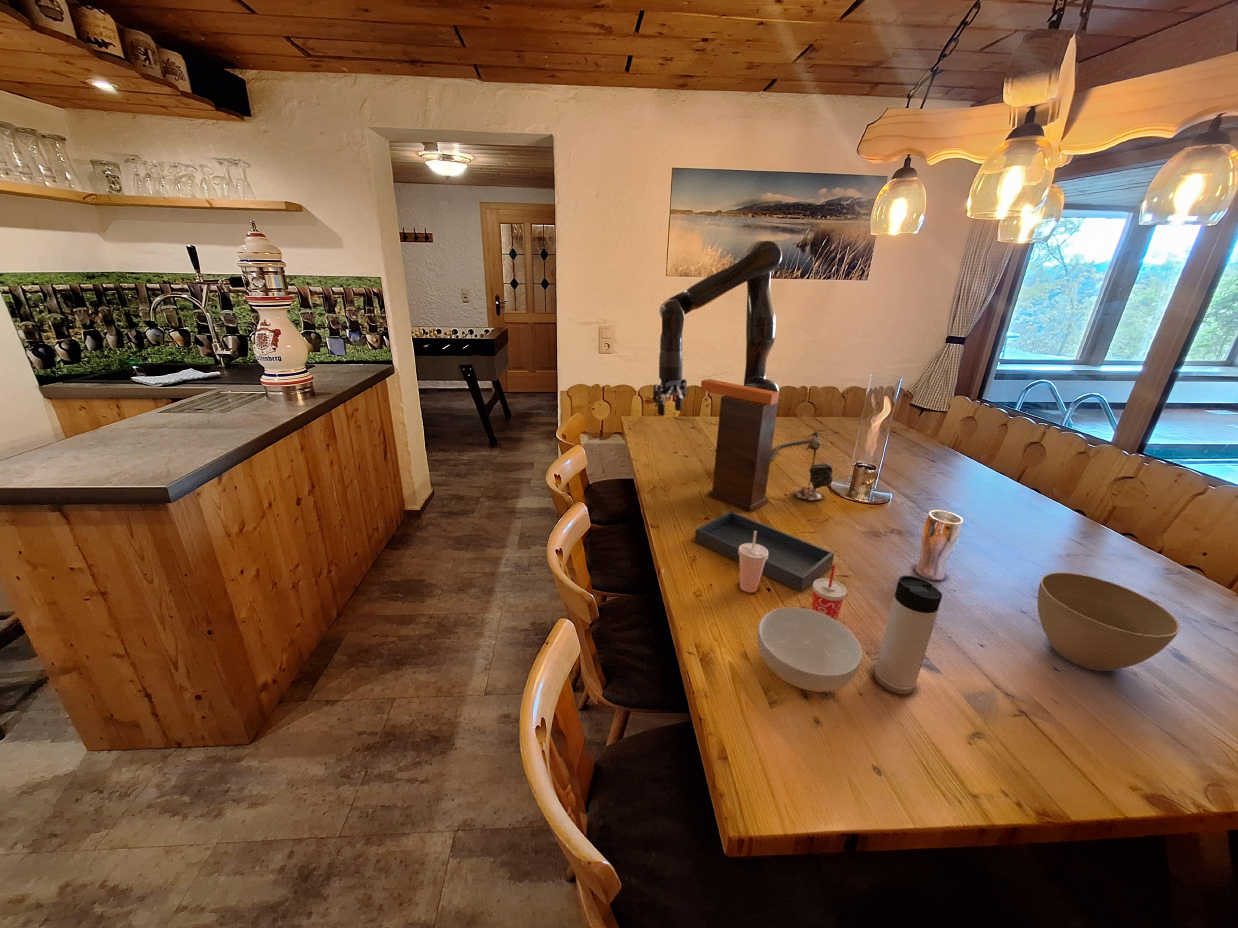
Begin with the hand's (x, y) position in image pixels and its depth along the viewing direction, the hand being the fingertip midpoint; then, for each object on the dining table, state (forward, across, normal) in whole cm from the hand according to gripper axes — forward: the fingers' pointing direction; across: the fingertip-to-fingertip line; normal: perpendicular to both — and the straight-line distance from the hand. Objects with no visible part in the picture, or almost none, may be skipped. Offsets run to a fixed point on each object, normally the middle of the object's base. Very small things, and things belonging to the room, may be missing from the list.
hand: (669, 412), depth 164 cm
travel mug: (+24, -43, -89) cm, 102 cm away
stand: (+23, 0, -29) cm, 37 cm away
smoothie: (+23, -38, -57) cm, 72 cm away
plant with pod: (+24, +19, -44) cm, 53 cm away
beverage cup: (+23, -38, -74) cm, 86 cm away
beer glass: (+24, -1, -83) cm, 86 cm away
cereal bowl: (+23, -52, -77) cm, 96 cm away
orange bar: (-10, 0, -26) cm, 27 cm away
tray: (+23, -23, -51) cm, 60 cm away
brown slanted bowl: (+25, -10, -111) cm, 114 cm away
